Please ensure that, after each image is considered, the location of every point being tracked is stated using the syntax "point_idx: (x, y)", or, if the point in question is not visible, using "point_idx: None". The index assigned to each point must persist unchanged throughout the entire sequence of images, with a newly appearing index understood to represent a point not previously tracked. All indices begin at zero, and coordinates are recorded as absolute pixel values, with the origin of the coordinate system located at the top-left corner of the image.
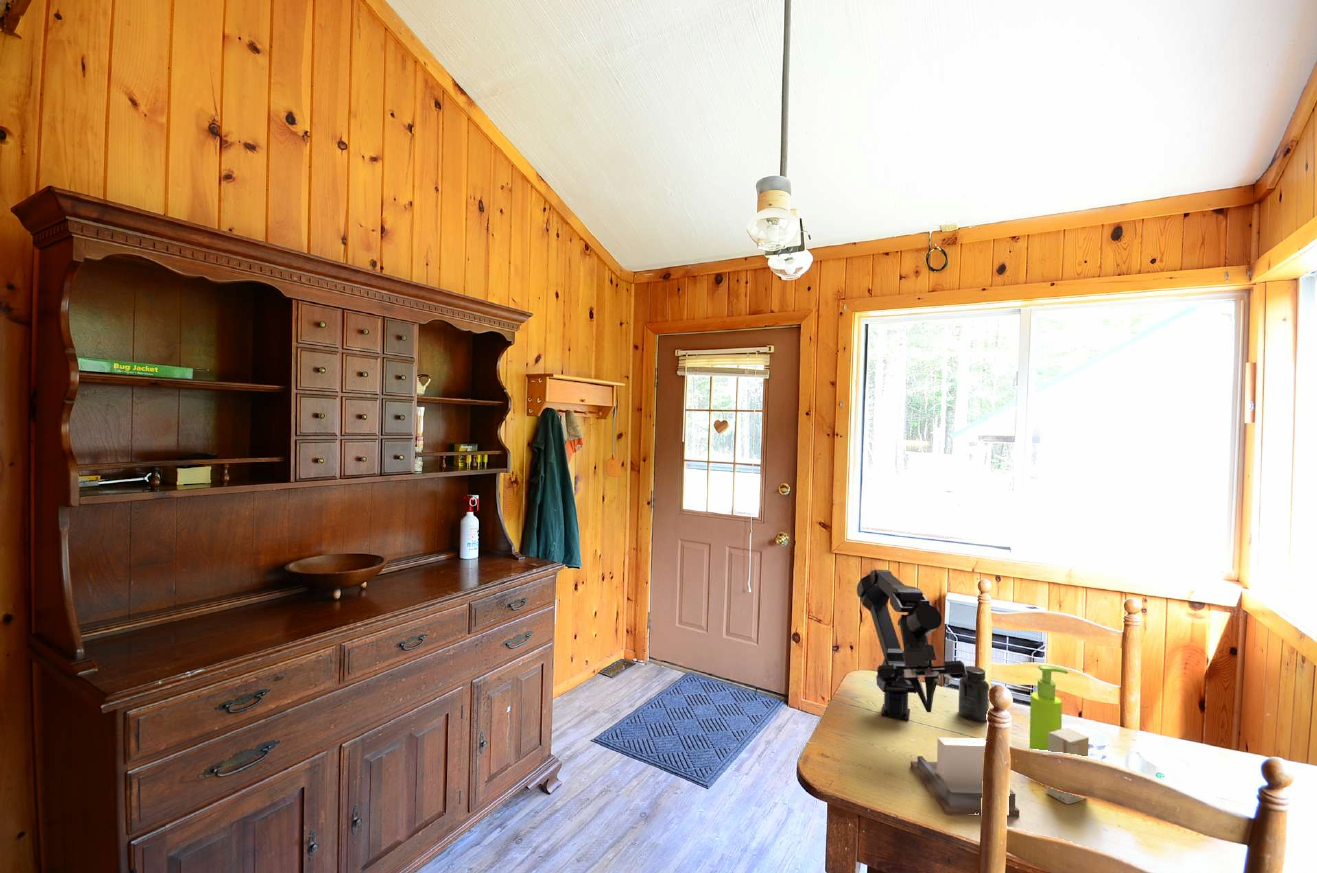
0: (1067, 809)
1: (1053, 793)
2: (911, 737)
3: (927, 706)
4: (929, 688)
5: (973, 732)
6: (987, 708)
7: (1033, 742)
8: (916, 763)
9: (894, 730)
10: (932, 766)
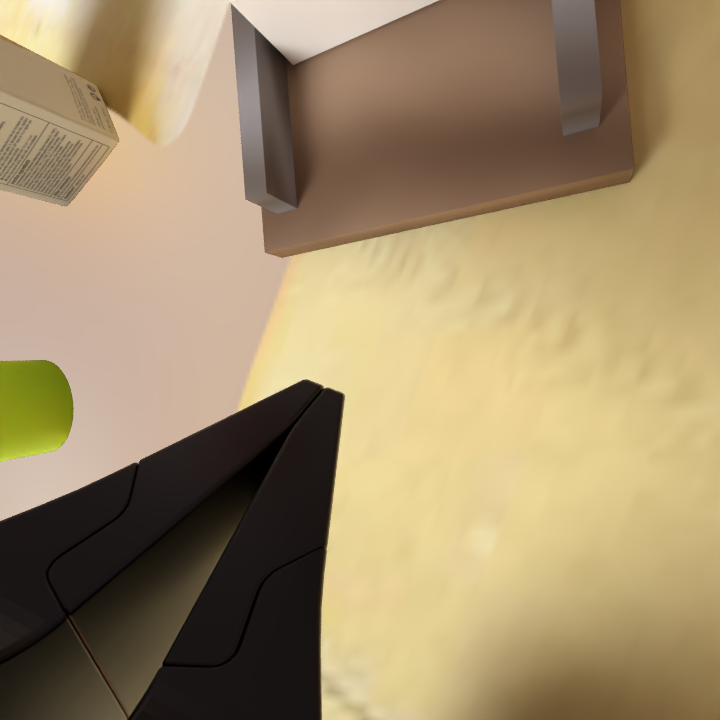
0: (107, 59)
1: (100, 114)
2: (481, 566)
3: (301, 412)
4: (36, 551)
5: None
6: None
7: (13, 403)
8: (595, 153)
9: (570, 669)
10: (493, 144)
